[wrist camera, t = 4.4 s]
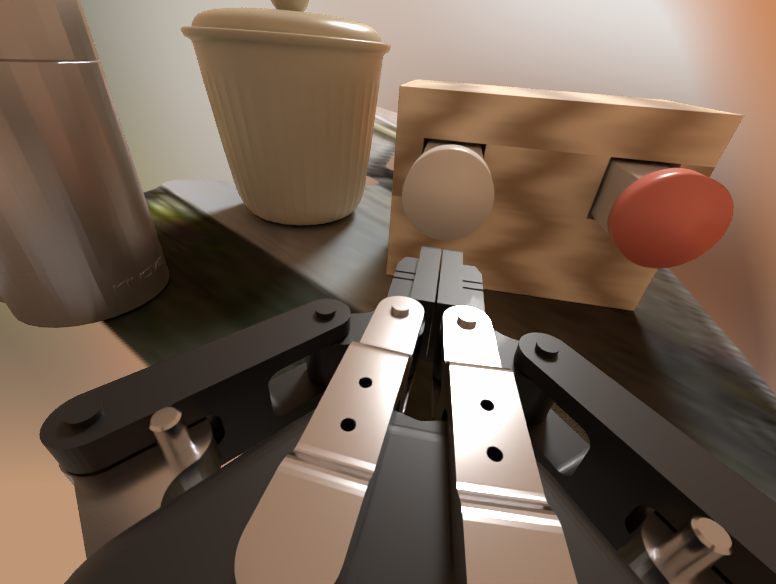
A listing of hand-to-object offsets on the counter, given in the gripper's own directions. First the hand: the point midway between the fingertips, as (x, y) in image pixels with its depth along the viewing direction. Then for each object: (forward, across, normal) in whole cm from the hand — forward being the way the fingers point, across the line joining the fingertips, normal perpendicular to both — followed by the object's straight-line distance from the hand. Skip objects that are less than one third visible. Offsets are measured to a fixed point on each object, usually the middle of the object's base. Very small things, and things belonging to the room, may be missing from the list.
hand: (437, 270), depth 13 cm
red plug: (+13, -12, +3) cm, 18 cm away
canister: (+26, +16, +9) cm, 32 cm away
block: (+19, -6, +9) cm, 22 cm away
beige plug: (+13, 0, +3) cm, 13 cm away
